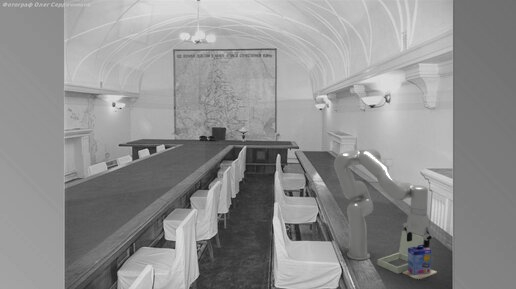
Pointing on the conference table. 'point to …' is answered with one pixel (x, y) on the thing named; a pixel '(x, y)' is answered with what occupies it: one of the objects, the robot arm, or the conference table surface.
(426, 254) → the ink cartridge box
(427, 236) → the robot arm
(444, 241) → the conference table surface
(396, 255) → the case
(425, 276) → the board
